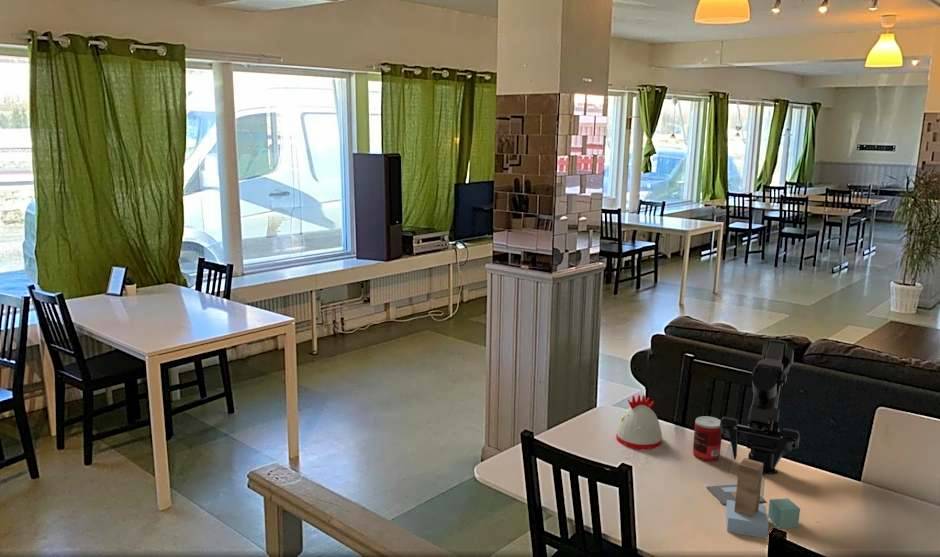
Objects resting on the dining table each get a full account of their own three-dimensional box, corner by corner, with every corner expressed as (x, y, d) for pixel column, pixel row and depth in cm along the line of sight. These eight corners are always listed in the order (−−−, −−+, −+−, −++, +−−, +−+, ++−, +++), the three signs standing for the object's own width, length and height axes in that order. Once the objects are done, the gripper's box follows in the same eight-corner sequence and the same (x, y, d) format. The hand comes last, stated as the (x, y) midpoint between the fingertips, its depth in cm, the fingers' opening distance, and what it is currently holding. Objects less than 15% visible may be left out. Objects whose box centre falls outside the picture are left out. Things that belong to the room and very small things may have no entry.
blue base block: (725, 514, 178) (727, 499, 178) (763, 520, 176) (765, 505, 175) (726, 532, 170) (728, 517, 169) (766, 539, 167) (768, 524, 166)
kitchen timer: (610, 431, 226) (613, 387, 223) (651, 430, 228) (654, 386, 225) (624, 450, 213) (627, 404, 210) (668, 448, 214) (671, 402, 211)
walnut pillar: (739, 504, 175) (744, 457, 173) (758, 510, 173) (763, 463, 170) (734, 511, 172) (739, 464, 169) (753, 517, 169) (758, 470, 167)
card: (747, 485, 192) (747, 483, 192) (765, 502, 183) (765, 500, 183) (706, 487, 191) (706, 486, 190) (722, 504, 182) (722, 503, 182)
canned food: (721, 452, 212) (724, 418, 209) (718, 463, 205) (721, 428, 202) (694, 447, 215) (697, 414, 213) (690, 458, 208) (693, 423, 206)
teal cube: (786, 516, 177) (788, 498, 176) (797, 527, 172) (800, 508, 171) (767, 517, 176) (769, 499, 175) (779, 528, 171) (781, 510, 170)
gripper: (724, 387, 182) (713, 443, 175) (803, 400, 174) (794, 460, 166) (726, 405, 191) (716, 459, 183) (802, 419, 182) (794, 476, 175)
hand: (753, 463), depth 177 cm, fingers open, 9 cm apart
